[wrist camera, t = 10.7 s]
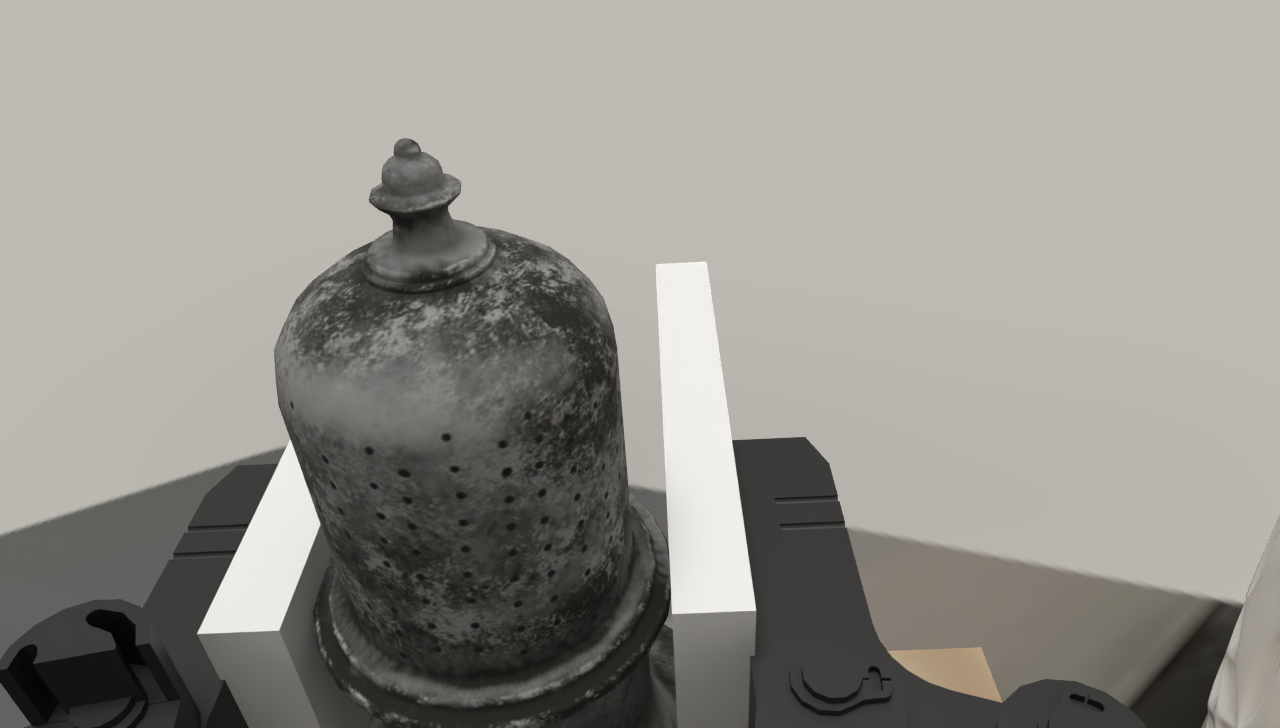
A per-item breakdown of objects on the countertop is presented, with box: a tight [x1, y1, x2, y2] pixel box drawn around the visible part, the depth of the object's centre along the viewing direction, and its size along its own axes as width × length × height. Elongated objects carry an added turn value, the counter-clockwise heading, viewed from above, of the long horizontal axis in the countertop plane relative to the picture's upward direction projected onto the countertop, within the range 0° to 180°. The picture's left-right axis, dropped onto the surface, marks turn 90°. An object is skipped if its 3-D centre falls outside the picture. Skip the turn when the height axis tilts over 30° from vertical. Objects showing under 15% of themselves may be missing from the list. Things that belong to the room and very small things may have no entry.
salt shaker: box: [274, 139, 678, 728], centre depth 10 cm, size 6×6×12 cm
